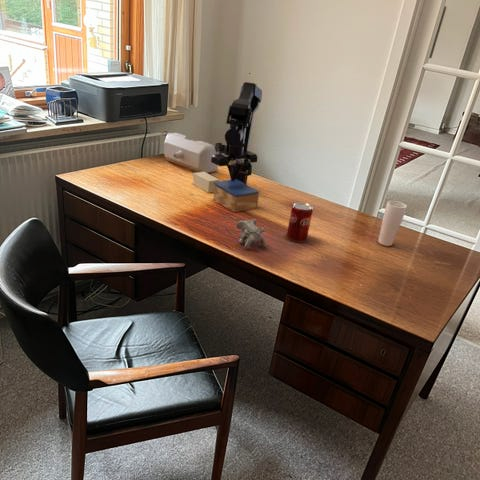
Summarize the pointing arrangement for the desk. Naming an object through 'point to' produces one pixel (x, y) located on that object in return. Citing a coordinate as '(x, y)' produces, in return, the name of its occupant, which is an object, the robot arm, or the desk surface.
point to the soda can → (299, 222)
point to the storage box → (235, 200)
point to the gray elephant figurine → (250, 232)
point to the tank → (189, 153)
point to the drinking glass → (391, 222)
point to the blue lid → (236, 188)
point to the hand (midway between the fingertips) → (232, 180)
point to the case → (204, 181)
